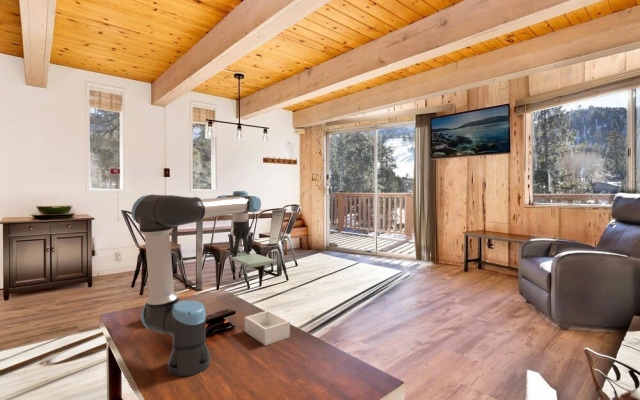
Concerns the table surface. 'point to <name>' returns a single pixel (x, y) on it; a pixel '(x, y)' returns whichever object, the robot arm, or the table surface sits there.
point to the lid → (252, 260)
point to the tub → (267, 327)
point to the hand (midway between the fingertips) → (241, 265)
